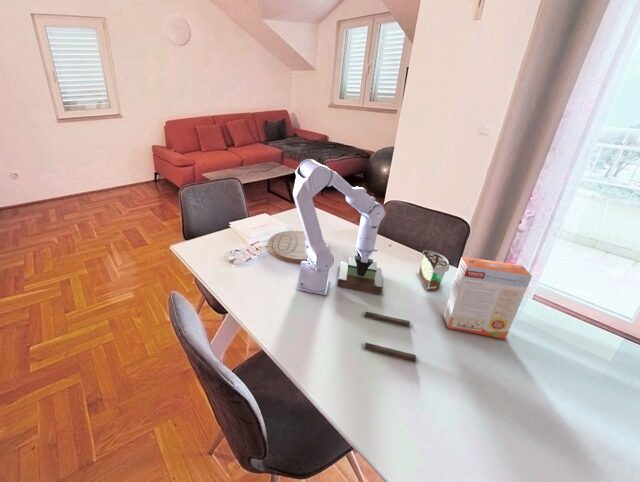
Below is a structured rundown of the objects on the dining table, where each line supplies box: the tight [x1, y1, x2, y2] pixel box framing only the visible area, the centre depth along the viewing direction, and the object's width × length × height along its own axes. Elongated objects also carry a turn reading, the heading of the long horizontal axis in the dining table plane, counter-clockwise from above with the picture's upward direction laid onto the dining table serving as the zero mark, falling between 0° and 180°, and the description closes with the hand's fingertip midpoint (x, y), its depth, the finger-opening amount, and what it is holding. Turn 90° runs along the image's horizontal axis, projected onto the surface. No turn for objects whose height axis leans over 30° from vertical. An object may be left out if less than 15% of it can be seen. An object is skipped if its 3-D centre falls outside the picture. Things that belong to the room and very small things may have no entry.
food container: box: [417, 249, 450, 291], centre depth 107 cm, size 12×6×10 cm, turn 168°
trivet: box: [267, 230, 329, 265], centre depth 132 cm, size 25×25×2 cm
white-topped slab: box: [337, 260, 383, 295], centre depth 110 cm, size 14×12×3 cm
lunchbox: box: [347, 257, 378, 280], centre depth 109 cm, size 9×5×4 cm, turn 70°
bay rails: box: [364, 311, 417, 362], centre depth 87 cm, size 12×14×1 cm
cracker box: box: [443, 256, 533, 340], centre depth 86 cm, size 14×6×21 cm, turn 71°
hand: (360, 269), depth 109 cm, fingers open, 6 cm apart
